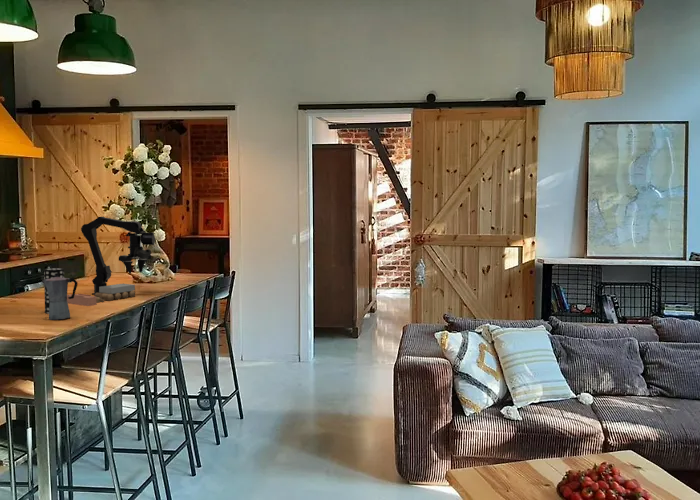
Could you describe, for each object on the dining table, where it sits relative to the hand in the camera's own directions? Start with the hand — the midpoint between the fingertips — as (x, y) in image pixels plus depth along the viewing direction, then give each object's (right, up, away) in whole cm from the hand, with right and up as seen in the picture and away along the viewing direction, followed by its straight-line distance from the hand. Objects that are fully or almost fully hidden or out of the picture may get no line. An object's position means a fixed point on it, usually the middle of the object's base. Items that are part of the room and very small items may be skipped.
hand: (135, 273), depth 359 cm
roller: (-14, -14, -25) cm, 32 cm away
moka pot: (-10, -18, -70) cm, 73 cm away
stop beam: (-17, -14, -31) cm, 38 cm away
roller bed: (-9, -13, -16) cm, 22 cm away
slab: (-6, -9, -11) cm, 15 cm away
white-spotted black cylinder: (-19, -16, -55) cm, 61 cm away
